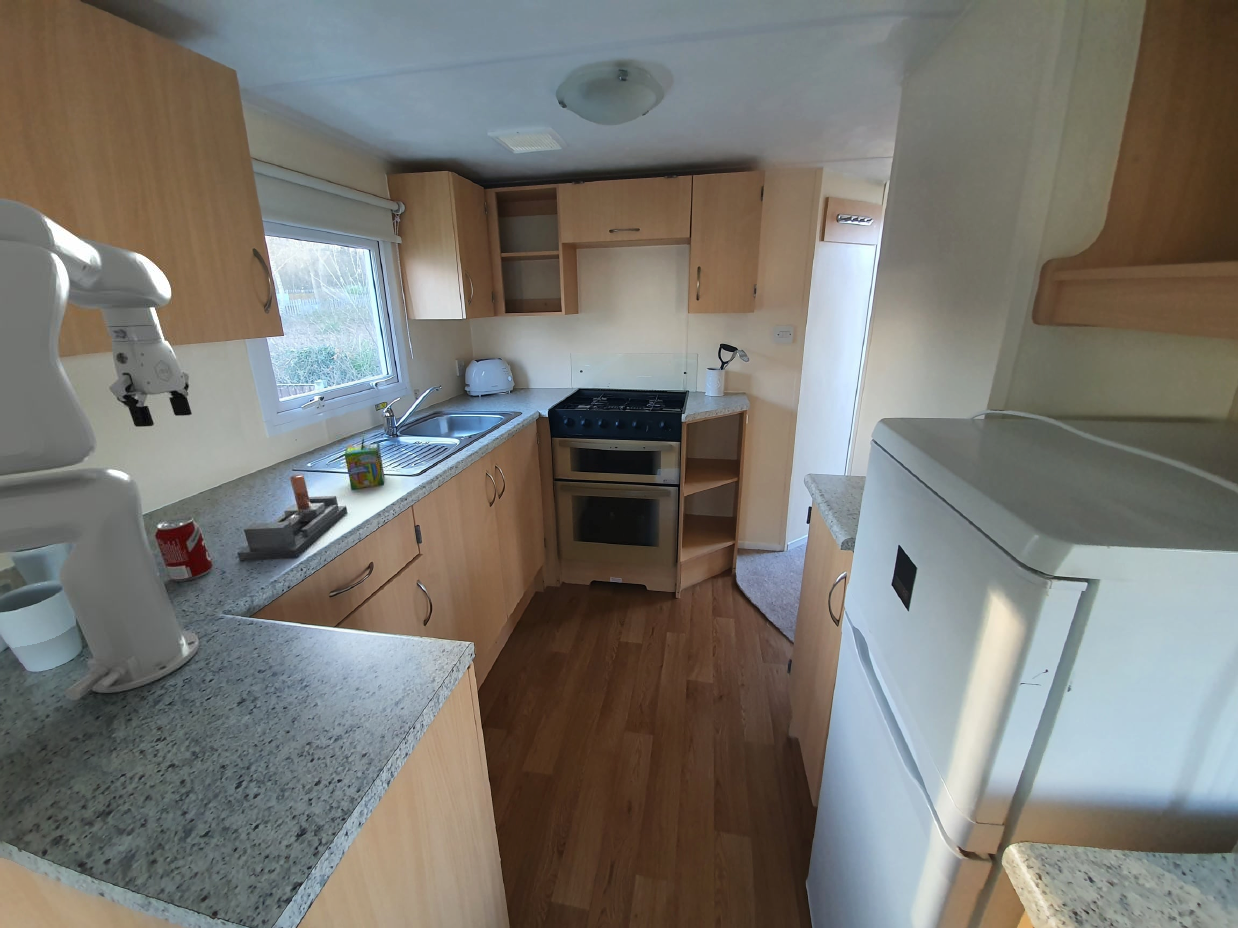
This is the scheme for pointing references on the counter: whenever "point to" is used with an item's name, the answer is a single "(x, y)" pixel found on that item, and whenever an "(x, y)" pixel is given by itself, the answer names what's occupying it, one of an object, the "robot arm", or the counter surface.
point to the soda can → (183, 549)
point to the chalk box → (364, 465)
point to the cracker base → (298, 540)
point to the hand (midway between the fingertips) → (165, 420)
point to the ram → (302, 503)
